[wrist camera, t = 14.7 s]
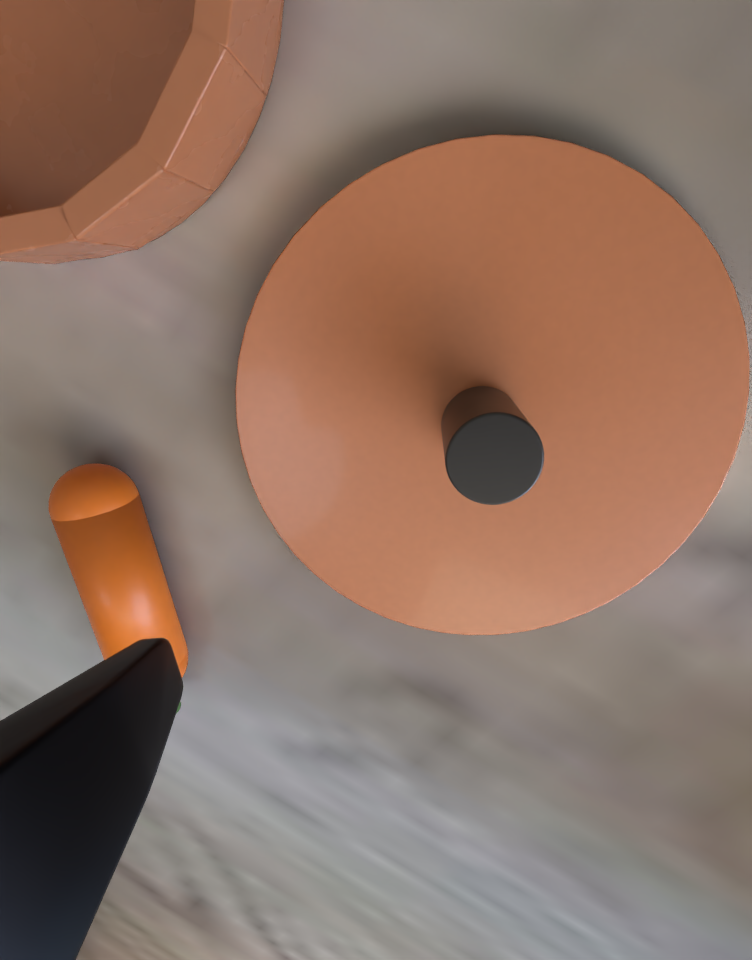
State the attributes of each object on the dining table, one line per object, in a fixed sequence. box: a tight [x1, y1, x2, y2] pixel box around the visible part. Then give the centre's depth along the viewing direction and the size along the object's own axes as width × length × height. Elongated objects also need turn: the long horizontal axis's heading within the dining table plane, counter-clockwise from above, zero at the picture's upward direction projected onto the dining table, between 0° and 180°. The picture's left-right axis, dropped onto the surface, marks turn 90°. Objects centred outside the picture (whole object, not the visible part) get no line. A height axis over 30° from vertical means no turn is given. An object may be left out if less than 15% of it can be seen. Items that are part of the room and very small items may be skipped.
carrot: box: [49, 463, 188, 713], centre depth 21 cm, size 11×3×3 cm, turn 9°
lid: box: [235, 134, 749, 635], centre depth 17 cm, size 17×17×5 cm
